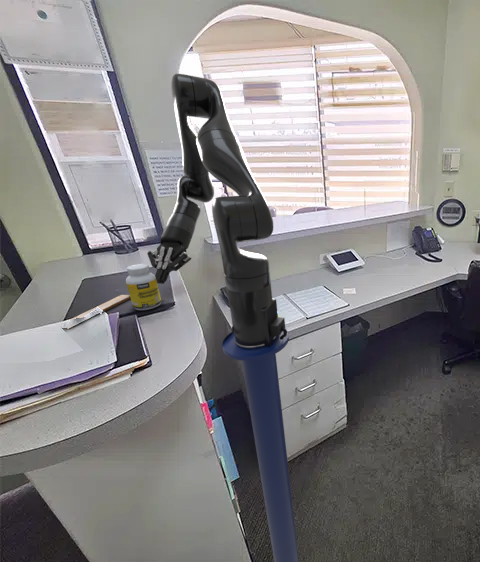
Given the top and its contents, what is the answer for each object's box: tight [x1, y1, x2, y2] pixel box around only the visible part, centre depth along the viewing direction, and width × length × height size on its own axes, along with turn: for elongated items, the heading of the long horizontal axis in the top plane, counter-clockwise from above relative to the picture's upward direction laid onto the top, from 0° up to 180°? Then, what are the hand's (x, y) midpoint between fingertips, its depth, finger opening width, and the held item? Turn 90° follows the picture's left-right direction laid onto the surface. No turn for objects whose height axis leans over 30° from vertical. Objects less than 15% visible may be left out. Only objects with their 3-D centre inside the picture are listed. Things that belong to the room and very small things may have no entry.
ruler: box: [69, 294, 131, 320], centre depth 82 cm, size 3×18×1 cm, turn 174°
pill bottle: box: [125, 263, 162, 311], centre depth 84 cm, size 6×6×12 cm
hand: (158, 282), depth 89 cm, fingers closed
